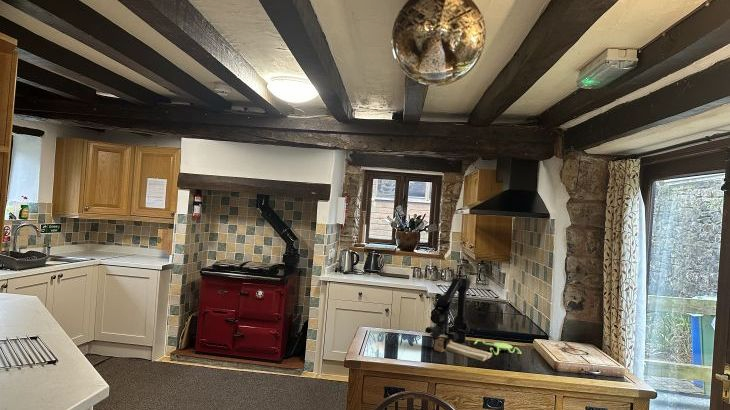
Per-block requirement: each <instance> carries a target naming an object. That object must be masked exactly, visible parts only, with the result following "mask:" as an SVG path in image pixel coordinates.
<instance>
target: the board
mask: <svg viewBox="0 0 730 410" xmlns="http://www.w3.org/2000/svg"><path fill="white" fill-rule="evenodd" d="M446 351H447V352H450V353H453V354H458V355H460V356H465V357H468V358H470V359H473V360H474V359H475V360H477V361H480V362H485V361H486V360H488V359H491V358H492V357H493V355H492V354H493V352H492V353H491V352H488V351H485V350H482V349H478V348H475V347H471V346H467V345H465V344H464V345H463V344H462V343H461V344H460V343H457V342H455V341H454V342H453V341H452V342H451V343H448V345H447V347H446Z"/></svg>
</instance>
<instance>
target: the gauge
mask: <svg viewBox="0 0 730 410" xmlns="http://www.w3.org/2000/svg"><path fill="white" fill-rule="evenodd" d="M444 342H445V340H444V338H442V337H439V338H438V339H435V343H434V345H433V346H434V348H433V350H434V351H437V352H439V353H443V352H446V351H447V350H446V349H444ZM451 342H453V340H450V342H449V343H451Z"/></svg>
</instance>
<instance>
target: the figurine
mask: <svg viewBox="0 0 730 410" xmlns="http://www.w3.org/2000/svg"><path fill="white" fill-rule="evenodd" d="M478 342H480V343H482V344H483V345H486V346H490V348H489V351H490V353H492V356H494V355H495V356H498V355H499V353H500V352H501V351H502V350H503V351H504V352H505V351H508V352H509V354H513V353H515V350H516V351H517V353H516V354H518V355H519V354H521V355H522V351H521V350H520V348H518V347H516V346H515V347H514V346H512V345H511V344H508V343H505V342H502V341H500V342H494V343H492V342H490V343H489V342H485V340H483V339H475V342H473V345H477V344H478ZM491 346H492V347H491ZM493 347H495V348H496V351H495V349H494V348H493ZM511 350H512V351H511Z"/></svg>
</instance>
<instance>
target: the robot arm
mask: <svg viewBox="0 0 730 410" xmlns="http://www.w3.org/2000/svg"><path fill="white" fill-rule="evenodd" d="M470 285H471V280H470V279H469V278H464V277H459V276H458V277H457V278H452V280H451V283H450V285H449V287H448V288H447V290H446V292H445V294H442V295H440V297H439V299H437V301H436V304H435V307H434V309H433V310H434V312H433V313H431V315H430V321H431V322H432V323H433V324H435V326H427V327H426V328H425V333H427V334H429V335H430V336H431V337H432V338H433V342H434V344H435V339H438V338H440V336H441V335H442V336H445V337H444V338H443V339H444V340H445V342H444V349H446V347H447V345H448V343H449V342H450V340H452V341H454V342H456V343H457V342H458V343H459V344H460V343H461V344H464V343H467V342H468V340H467V339H466V337H467V334H469V333H470V330H471V329H470V326H469V324H468V322H469V321H468V318H467V316H466V309H467V305H466V304H467V292H468V291H469V289H470V287H471V286H470ZM456 293H457V295H458V296H457V311H456V312H457V314H456V316H455V318H453V324H452V325H453V327H452V328H453V331H456V332H453V331H452V332H449V330H448V326H449V325H450V323H449V314H450V312H451V311H450V310H451V308H452V307H453V301H452V300H453V298H454V297H455V295H456Z"/></svg>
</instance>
